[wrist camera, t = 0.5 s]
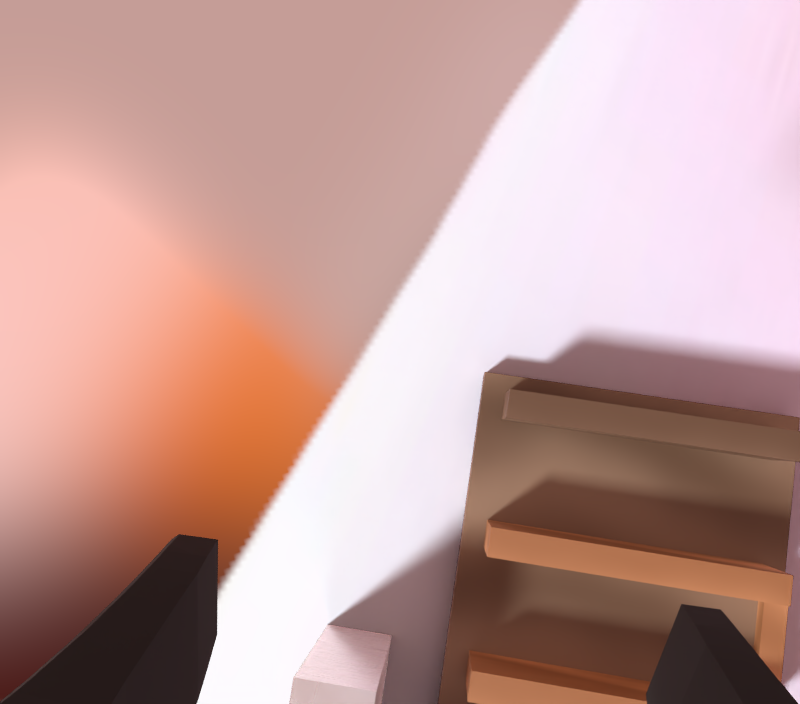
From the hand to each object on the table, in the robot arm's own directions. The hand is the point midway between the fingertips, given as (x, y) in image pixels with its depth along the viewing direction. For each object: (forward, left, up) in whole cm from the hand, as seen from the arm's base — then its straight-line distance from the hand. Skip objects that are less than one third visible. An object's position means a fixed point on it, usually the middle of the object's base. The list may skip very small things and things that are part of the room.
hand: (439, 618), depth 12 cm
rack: (-4, -8, -24) cm, 25 cm away
